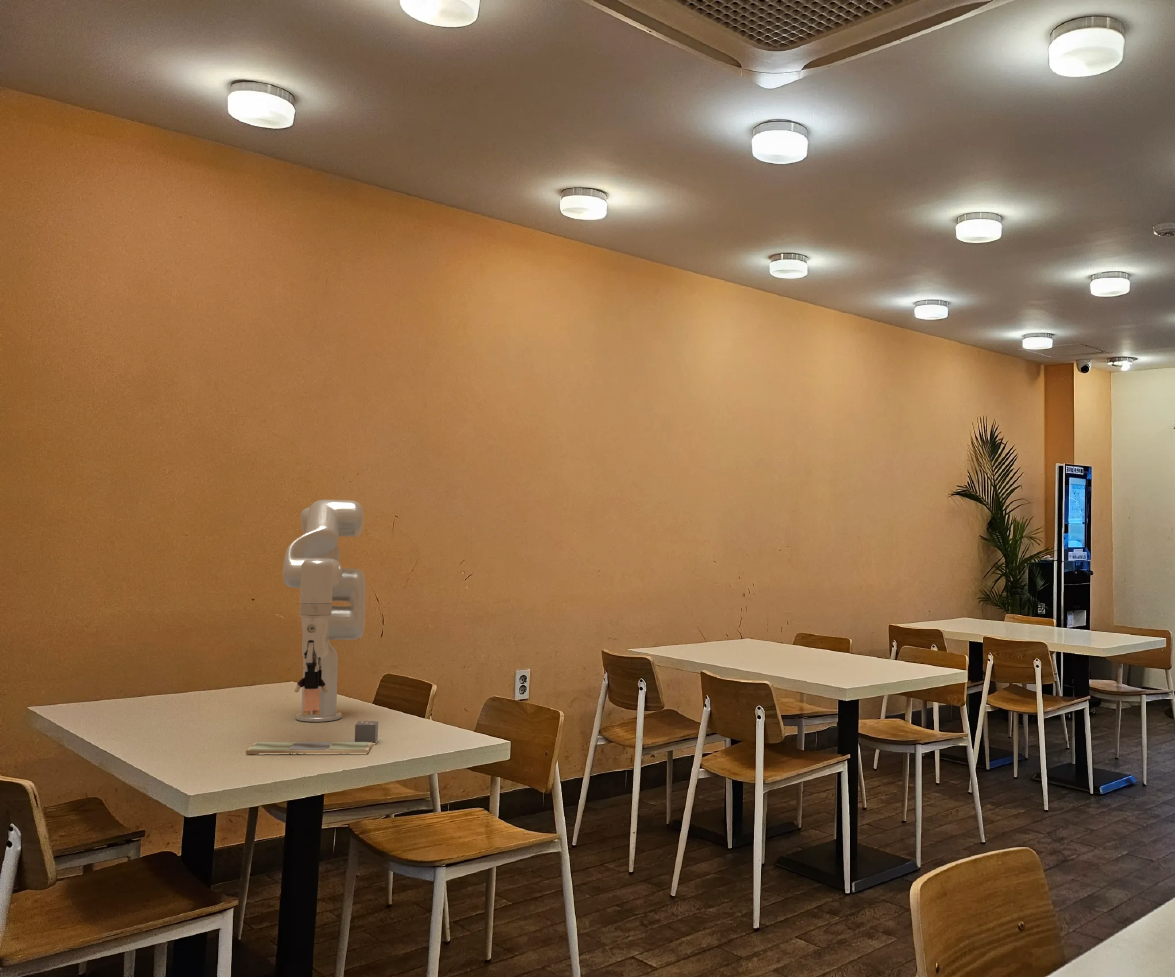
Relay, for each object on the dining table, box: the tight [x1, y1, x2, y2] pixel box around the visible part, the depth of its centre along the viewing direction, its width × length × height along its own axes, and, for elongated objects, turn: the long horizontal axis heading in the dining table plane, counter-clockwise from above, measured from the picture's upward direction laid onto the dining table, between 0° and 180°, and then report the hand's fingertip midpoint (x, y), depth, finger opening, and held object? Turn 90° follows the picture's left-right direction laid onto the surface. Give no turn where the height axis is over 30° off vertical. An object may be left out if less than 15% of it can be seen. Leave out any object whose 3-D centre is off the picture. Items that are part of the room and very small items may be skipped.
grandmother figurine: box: [294, 661, 328, 715], centre depth 230 cm, size 8×4×13 cm, turn 129°
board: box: [245, 741, 373, 755], centre depth 229 cm, size 9×28×1 cm, turn 96°
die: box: [354, 720, 379, 744], centre depth 240 cm, size 5×5×5 cm
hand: (312, 686), depth 230 cm, fingers closed on grandmother figurine, 3 cm apart
